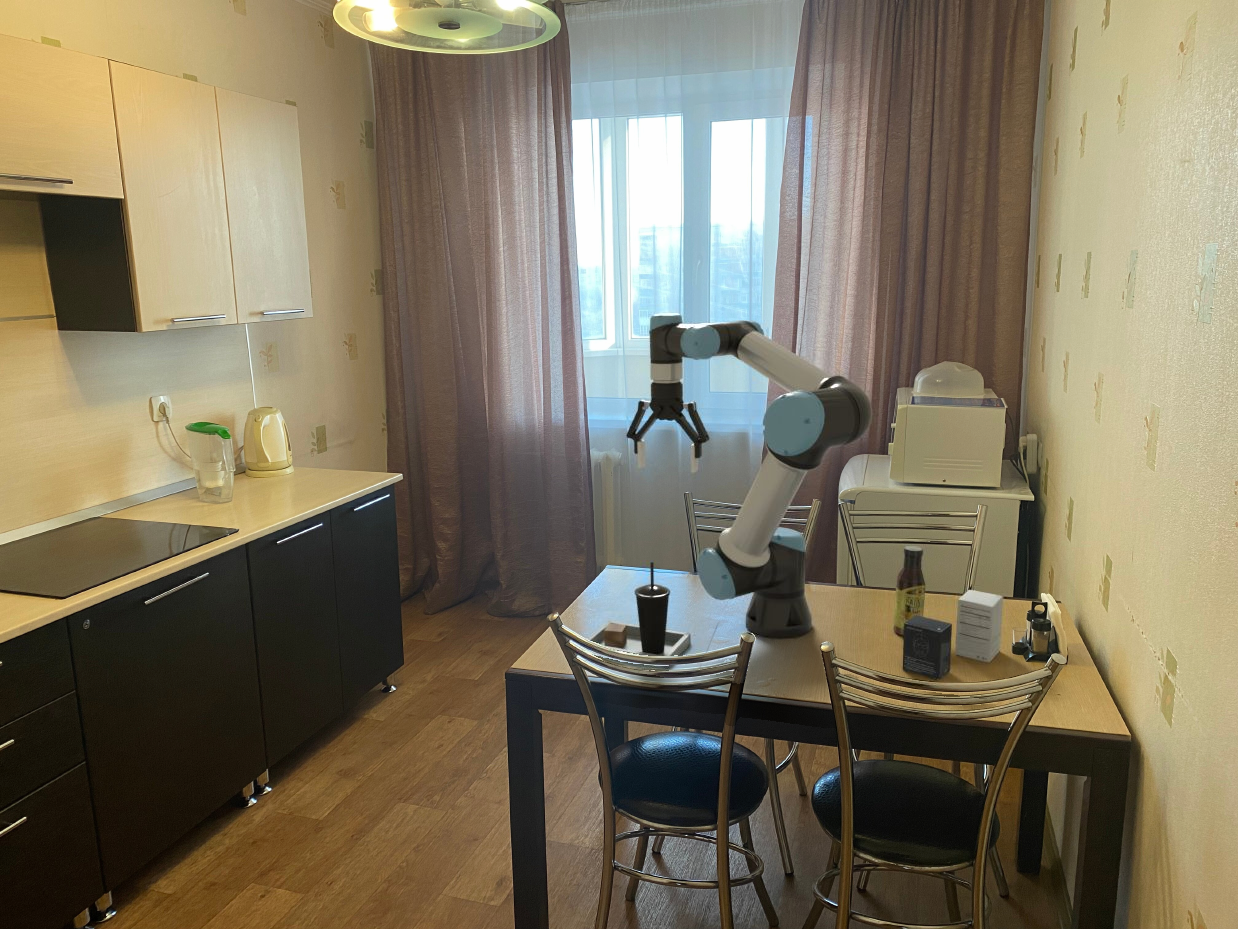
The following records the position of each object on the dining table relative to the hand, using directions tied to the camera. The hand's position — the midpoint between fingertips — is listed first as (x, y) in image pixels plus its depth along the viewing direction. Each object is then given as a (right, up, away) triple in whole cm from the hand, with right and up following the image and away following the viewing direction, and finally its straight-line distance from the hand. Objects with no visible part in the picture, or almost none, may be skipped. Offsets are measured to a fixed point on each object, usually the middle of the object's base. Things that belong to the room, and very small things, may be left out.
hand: (667, 469), depth 215 cm
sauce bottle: (+54, -37, -11) cm, 66 cm away
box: (+51, -41, -31) cm, 73 cm away
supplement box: (+65, -39, -23) cm, 79 cm away
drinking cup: (-4, -39, -19) cm, 44 cm away
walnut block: (-12, -39, -16) cm, 43 cm away
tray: (-8, -40, -18) cm, 44 cm away
